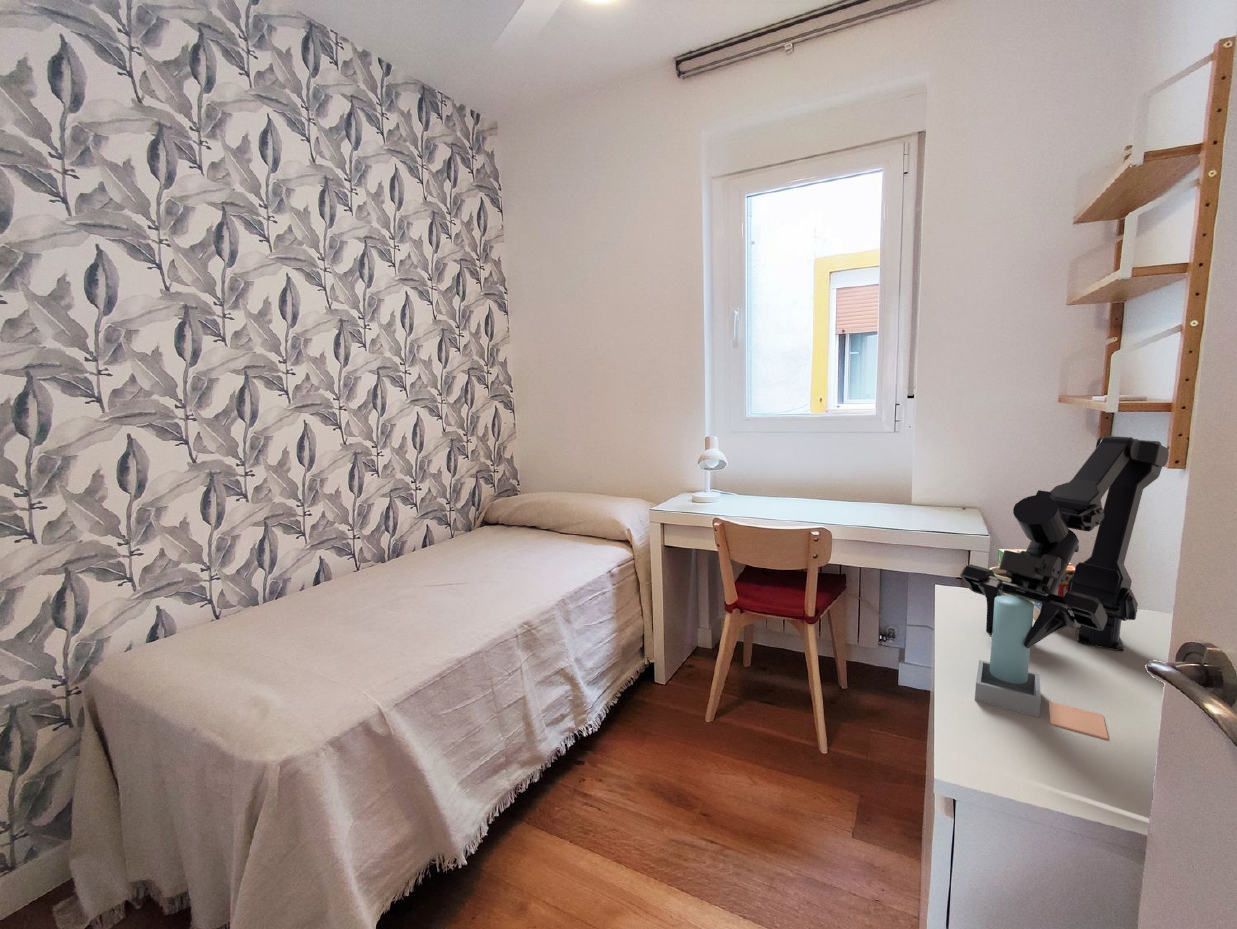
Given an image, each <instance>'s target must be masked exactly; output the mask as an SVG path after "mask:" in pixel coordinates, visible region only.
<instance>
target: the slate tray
mask: <svg viewBox="0 0 1237 929" xmlns="http://www.w3.org/2000/svg"><path fill="white" fill-rule="evenodd" d="M989 670H990V661H985V660H982V659H979V660H978V666H977V674H976V680H975V692H974V693H975V694H974V701H976V702H981V703H984V704H988V705H990V706H991V705H992V706H995V707H999V708H1003V709H1006V710H1008V711H1009V710H1010V711H1013V712H1018V713H1020V714H1021V713H1022V714H1025V715H1029V716H1033V717H1036V718H1040V715H1041V714H1040V711H1041V701H1042V698H1041V697H1042V694H1041V693H1042V691H1041V678H1040V677H1041V675H1040V673H1038V672H1033V671H1029V670H1028V680H1027V682H1025V683H1021V684H1015V683H1009V682H1005V681H1002V680H1000V679H997V678H996V677H994V676H993V675H992V674H991V673H990V671H989Z"/></svg>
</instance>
